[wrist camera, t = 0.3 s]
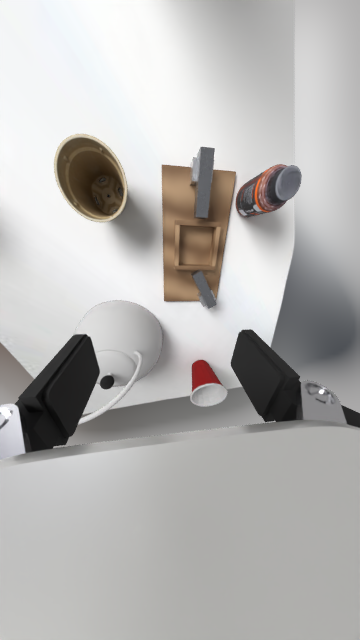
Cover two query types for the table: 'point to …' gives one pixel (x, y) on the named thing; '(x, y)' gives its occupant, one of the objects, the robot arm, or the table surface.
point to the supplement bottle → (268, 190)
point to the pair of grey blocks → (202, 211)
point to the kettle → (121, 345)
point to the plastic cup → (206, 385)
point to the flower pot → (90, 177)
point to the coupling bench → (193, 232)
